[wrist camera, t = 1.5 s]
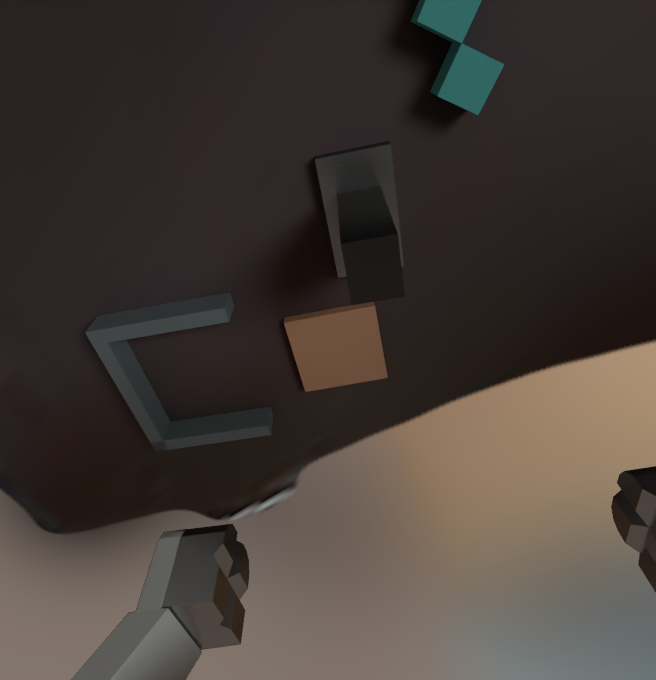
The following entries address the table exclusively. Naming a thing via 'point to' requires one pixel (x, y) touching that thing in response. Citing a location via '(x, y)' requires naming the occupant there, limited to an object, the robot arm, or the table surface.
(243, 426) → the bay
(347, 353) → the tile
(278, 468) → the table surface
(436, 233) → the table surface
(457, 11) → the teal pixel invader
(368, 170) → the stepped dark grey block
